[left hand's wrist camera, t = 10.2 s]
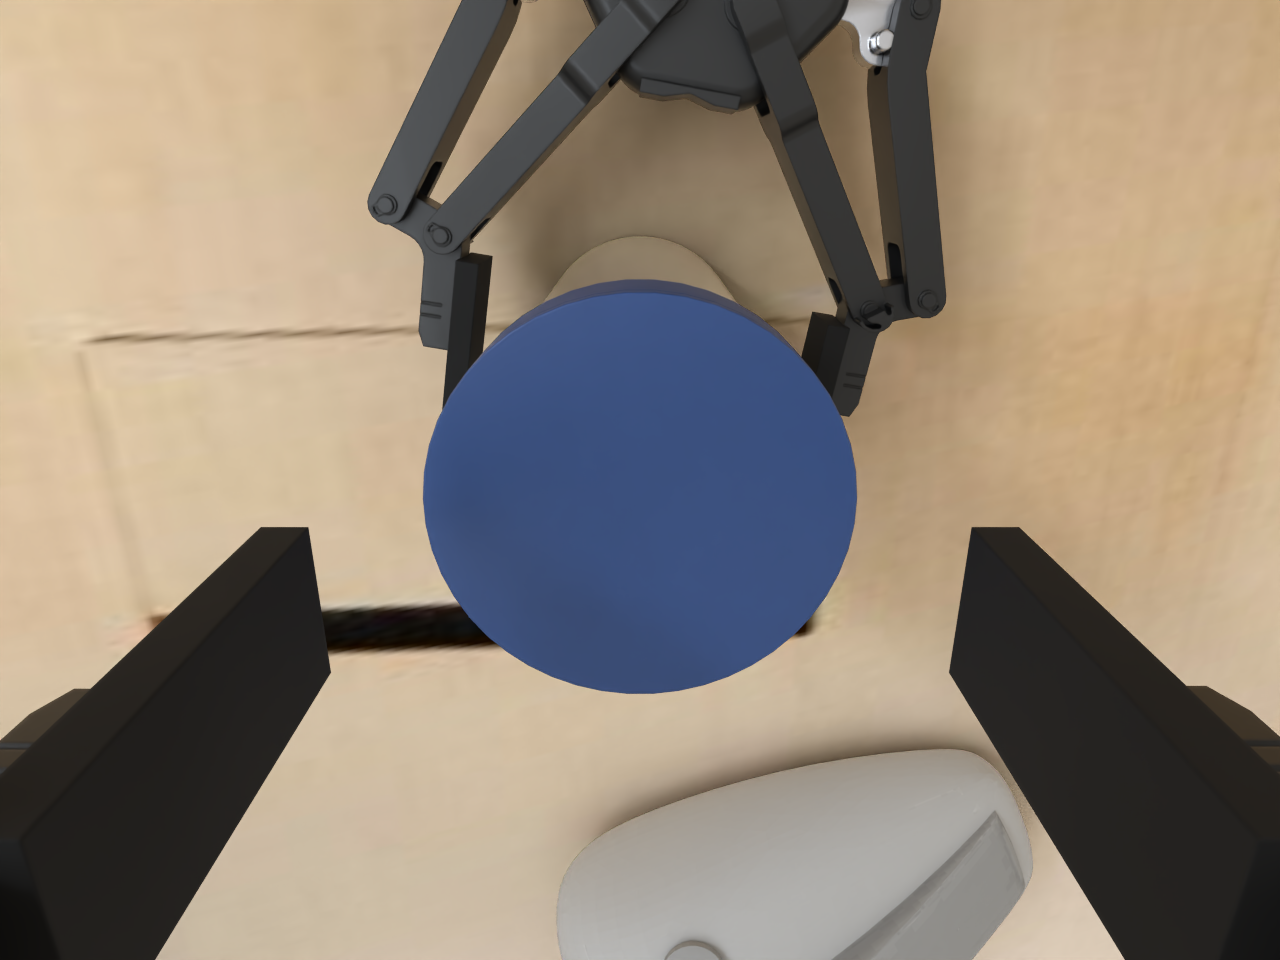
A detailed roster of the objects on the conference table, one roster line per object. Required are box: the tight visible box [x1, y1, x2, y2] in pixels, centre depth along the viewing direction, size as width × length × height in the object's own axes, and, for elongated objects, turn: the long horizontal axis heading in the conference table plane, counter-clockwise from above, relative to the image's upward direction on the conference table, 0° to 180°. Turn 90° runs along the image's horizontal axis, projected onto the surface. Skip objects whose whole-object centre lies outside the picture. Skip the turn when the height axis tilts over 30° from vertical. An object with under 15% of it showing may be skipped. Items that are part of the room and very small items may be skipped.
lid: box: [423, 279, 857, 694], centre depth 18 cm, size 9×9×2 cm
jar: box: [543, 236, 737, 303], centre depth 26 cm, size 8×8×19 cm
